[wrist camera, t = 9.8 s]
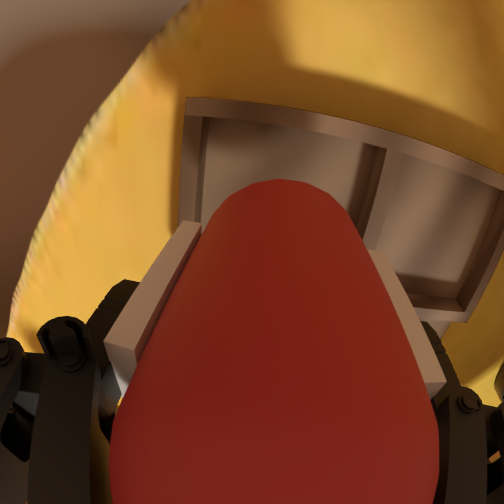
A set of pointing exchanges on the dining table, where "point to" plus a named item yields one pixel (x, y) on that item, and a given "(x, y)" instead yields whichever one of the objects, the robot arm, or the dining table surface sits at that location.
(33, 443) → the robot arm
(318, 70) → the dining table surface
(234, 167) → the brown desk organizer
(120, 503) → the beer can
